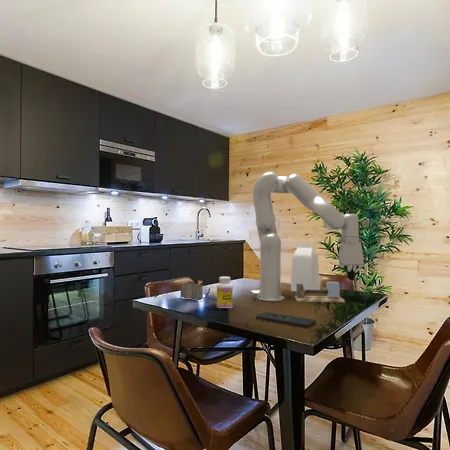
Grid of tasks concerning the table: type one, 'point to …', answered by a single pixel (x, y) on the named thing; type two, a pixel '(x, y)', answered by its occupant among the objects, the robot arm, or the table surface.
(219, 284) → the supplement bottle
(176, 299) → the table surface
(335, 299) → the board
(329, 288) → the sleeve
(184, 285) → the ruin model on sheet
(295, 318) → the dark grey flat block
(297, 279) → the milk
